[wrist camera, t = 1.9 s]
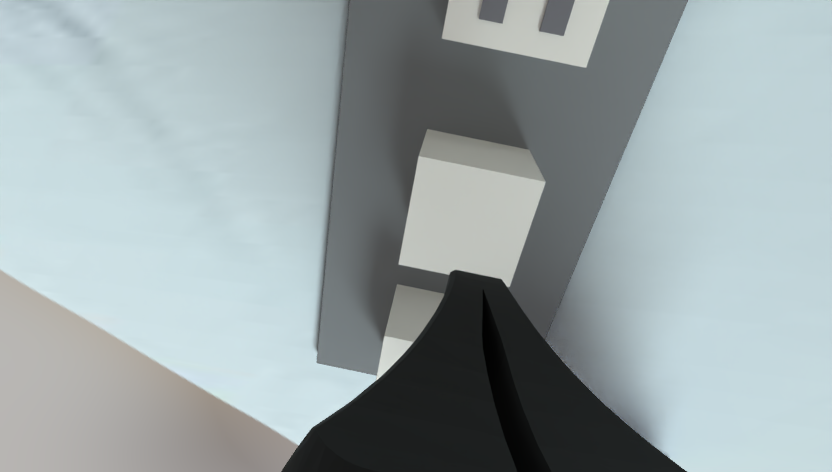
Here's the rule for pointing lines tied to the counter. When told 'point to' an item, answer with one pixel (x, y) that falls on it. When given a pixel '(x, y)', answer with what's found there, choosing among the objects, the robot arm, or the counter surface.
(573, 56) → the two bar block
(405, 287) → the one bar block
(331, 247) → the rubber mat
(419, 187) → the plain block
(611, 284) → the counter surface
